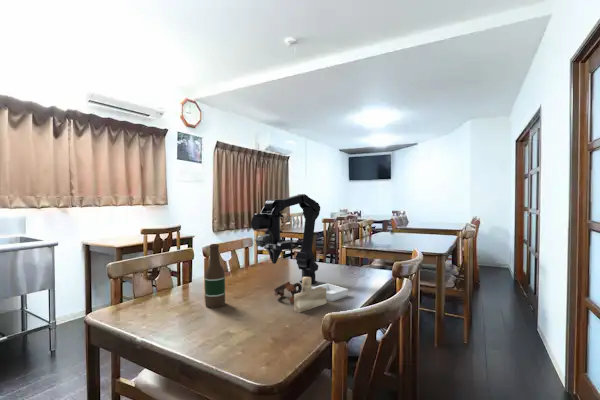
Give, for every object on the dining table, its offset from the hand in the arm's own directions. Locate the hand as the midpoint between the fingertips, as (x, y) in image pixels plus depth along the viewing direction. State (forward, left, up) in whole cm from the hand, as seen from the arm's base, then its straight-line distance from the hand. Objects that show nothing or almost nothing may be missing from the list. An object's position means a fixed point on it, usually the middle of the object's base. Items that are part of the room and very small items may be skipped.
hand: (274, 263), depth 137 cm
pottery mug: (+11, 0, -13) cm, 17 cm away
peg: (+8, +12, -13) cm, 19 cm away
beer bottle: (-4, -26, -13) cm, 29 cm away
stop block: (+23, 0, -13) cm, 27 cm away
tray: (+19, +15, -13) cm, 27 cm away
